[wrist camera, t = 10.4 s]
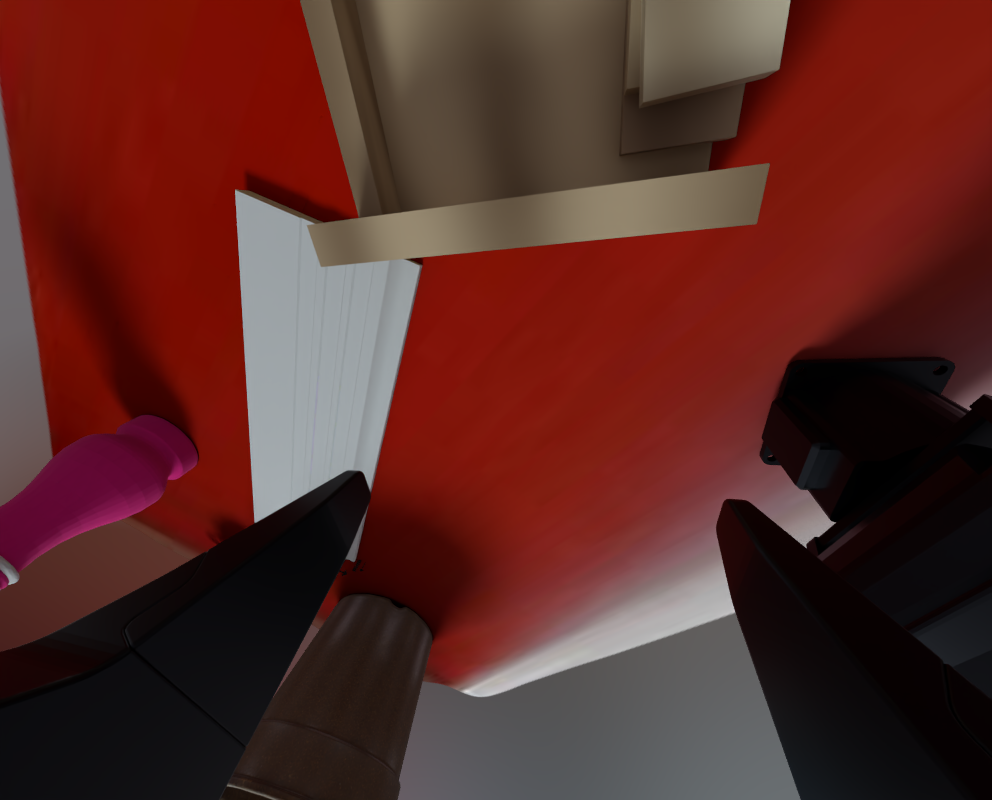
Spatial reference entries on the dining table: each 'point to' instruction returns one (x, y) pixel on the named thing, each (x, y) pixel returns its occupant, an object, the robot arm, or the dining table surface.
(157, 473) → the pepper mill
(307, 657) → the plant pot
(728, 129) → the offcut stack
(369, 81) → the rack
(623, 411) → the dining table surface
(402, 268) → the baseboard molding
